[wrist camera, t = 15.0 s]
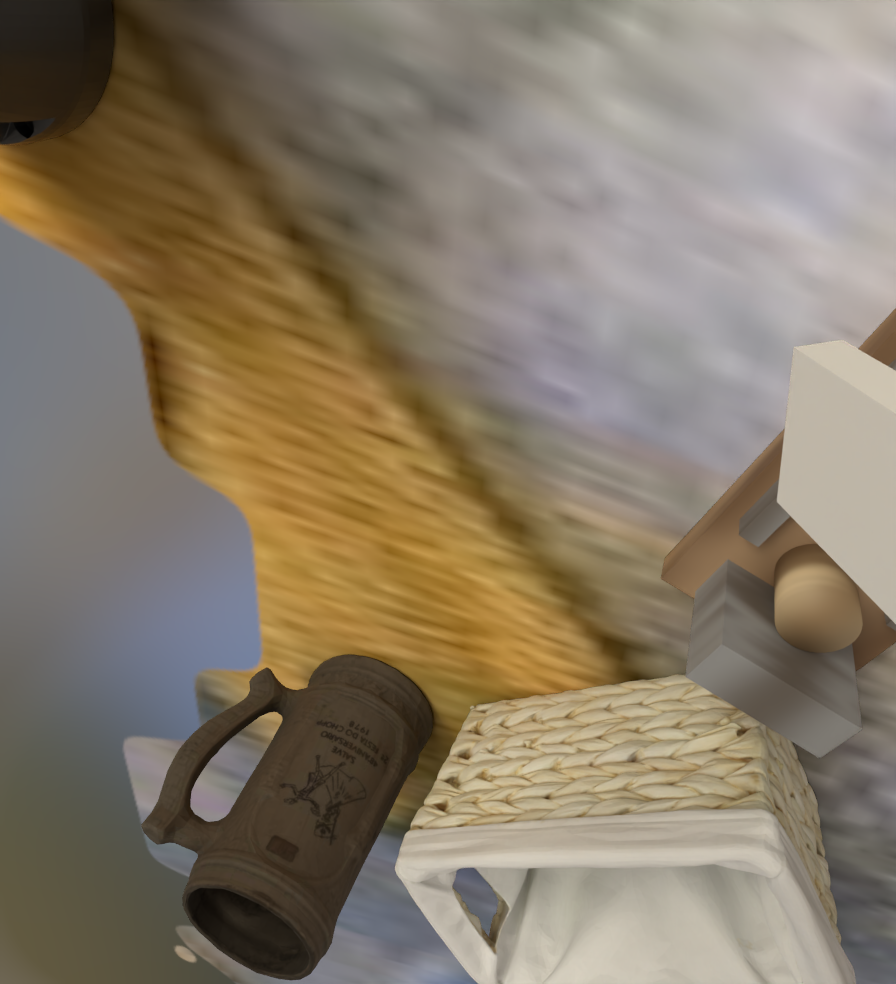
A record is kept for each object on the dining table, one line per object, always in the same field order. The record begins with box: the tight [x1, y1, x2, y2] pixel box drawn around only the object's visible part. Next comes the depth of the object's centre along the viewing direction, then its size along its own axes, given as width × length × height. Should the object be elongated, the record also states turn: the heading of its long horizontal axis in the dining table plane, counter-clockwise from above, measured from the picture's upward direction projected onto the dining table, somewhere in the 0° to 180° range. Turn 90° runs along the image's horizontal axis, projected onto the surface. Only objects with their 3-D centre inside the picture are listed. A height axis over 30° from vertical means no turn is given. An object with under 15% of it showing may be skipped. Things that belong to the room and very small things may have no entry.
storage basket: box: [395, 674, 856, 984], centre depth 52 cm, size 24×16×15 cm
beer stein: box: [141, 655, 433, 980], centre depth 57 cm, size 15×11×20 cm
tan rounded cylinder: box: [774, 544, 863, 653], centre depth 41 cm, size 4×4×4 cm
